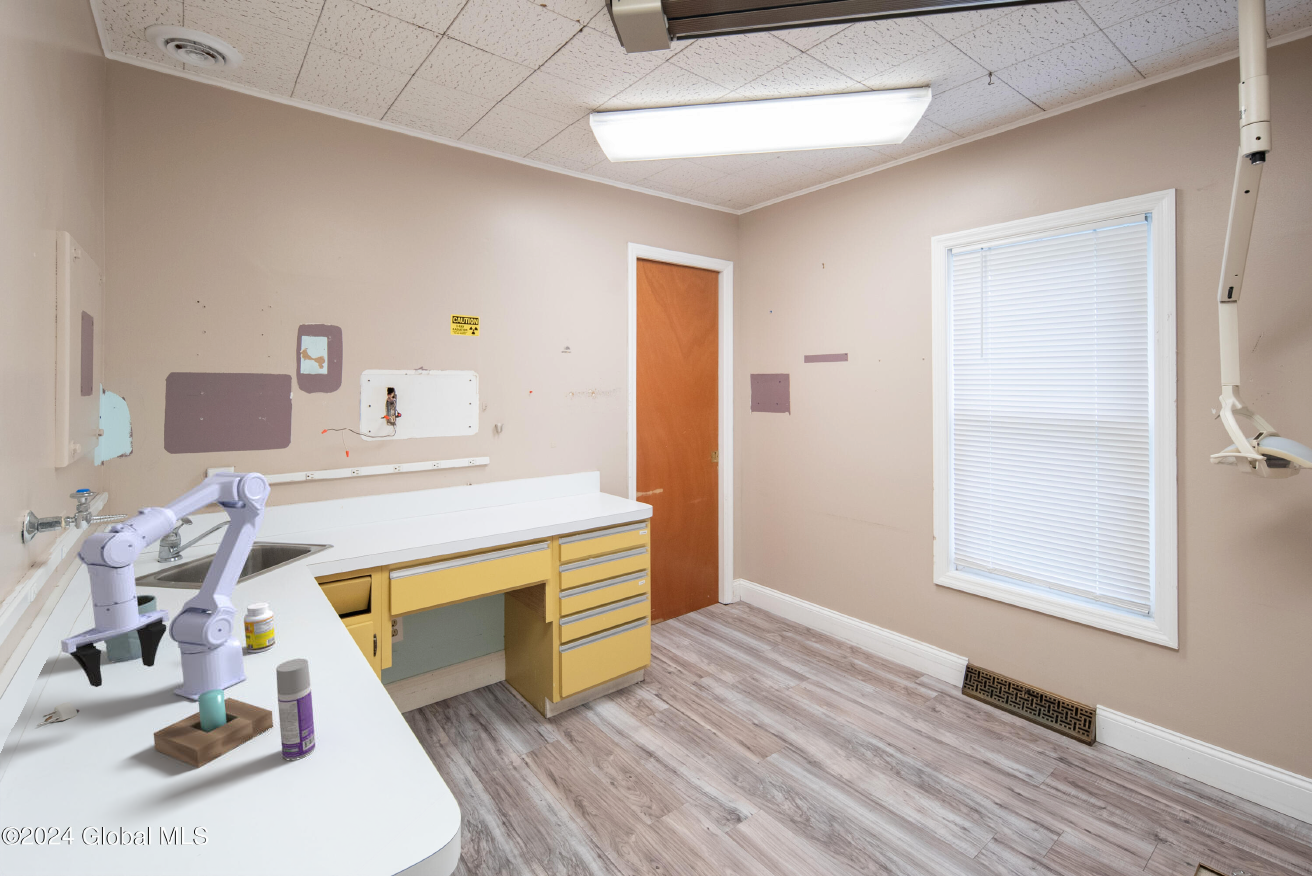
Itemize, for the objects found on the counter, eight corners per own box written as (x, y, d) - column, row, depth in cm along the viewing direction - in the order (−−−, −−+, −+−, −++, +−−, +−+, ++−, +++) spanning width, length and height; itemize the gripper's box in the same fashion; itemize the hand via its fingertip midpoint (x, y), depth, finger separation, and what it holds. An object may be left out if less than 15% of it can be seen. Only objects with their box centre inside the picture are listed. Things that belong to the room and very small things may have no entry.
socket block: (230, 712, 111) (229, 697, 111) (273, 727, 106) (271, 711, 106) (155, 750, 100) (153, 733, 100) (199, 767, 95) (197, 749, 95)
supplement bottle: (246, 647, 139) (242, 604, 138) (274, 640, 142) (271, 599, 141) (246, 656, 134) (243, 612, 133) (276, 649, 137) (272, 606, 136)
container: (310, 739, 102) (304, 655, 101) (319, 751, 99) (312, 664, 97) (279, 751, 99) (272, 665, 98) (286, 764, 96) (279, 674, 94)
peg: (210, 733, 105) (206, 689, 104) (232, 731, 105) (227, 688, 104) (197, 745, 101) (193, 700, 100) (220, 743, 101) (215, 699, 101)
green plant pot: (172, 644, 141) (167, 595, 139) (131, 665, 131) (125, 612, 129) (133, 643, 142) (128, 594, 140) (89, 663, 132) (83, 611, 130)
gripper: (150, 584, 112) (157, 653, 114) (48, 612, 99) (57, 690, 101) (172, 588, 110) (179, 659, 111) (70, 618, 96) (79, 698, 98)
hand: (123, 674), depth 106 cm, fingers open, 7 cm apart
